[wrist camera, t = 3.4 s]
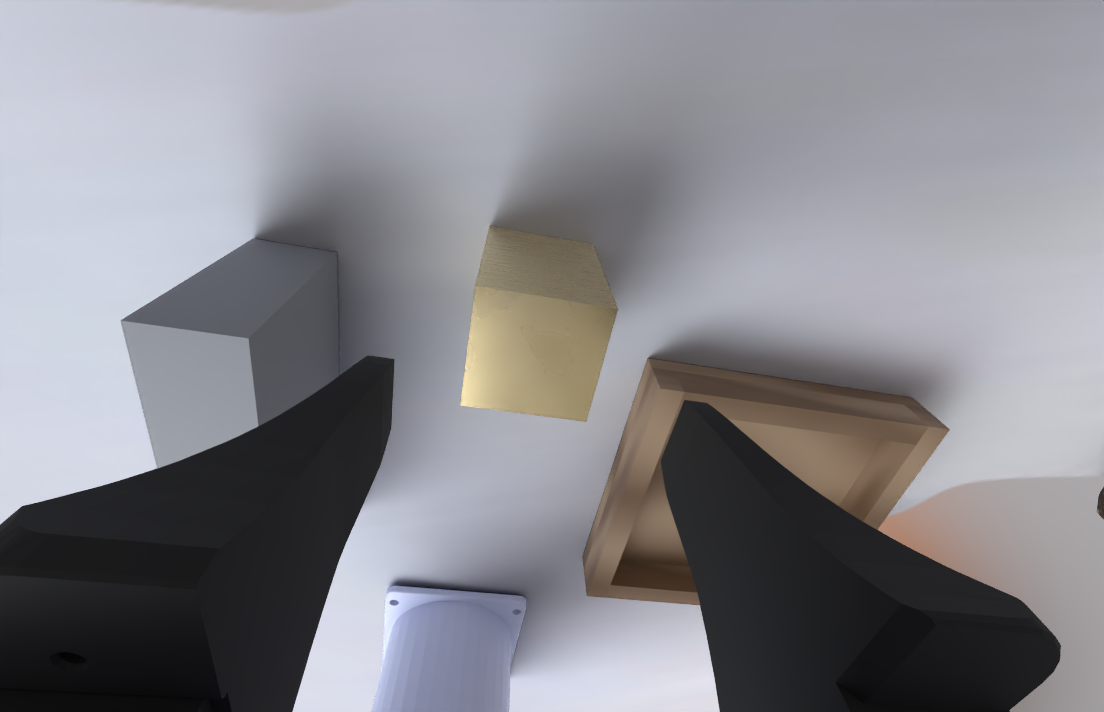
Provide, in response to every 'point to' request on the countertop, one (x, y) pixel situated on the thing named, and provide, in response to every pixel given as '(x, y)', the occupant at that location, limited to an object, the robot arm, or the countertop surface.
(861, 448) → the tray
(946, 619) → the robot arm
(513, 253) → the brass block
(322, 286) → the wall unit
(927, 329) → the countertop surface
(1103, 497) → the bread roll
